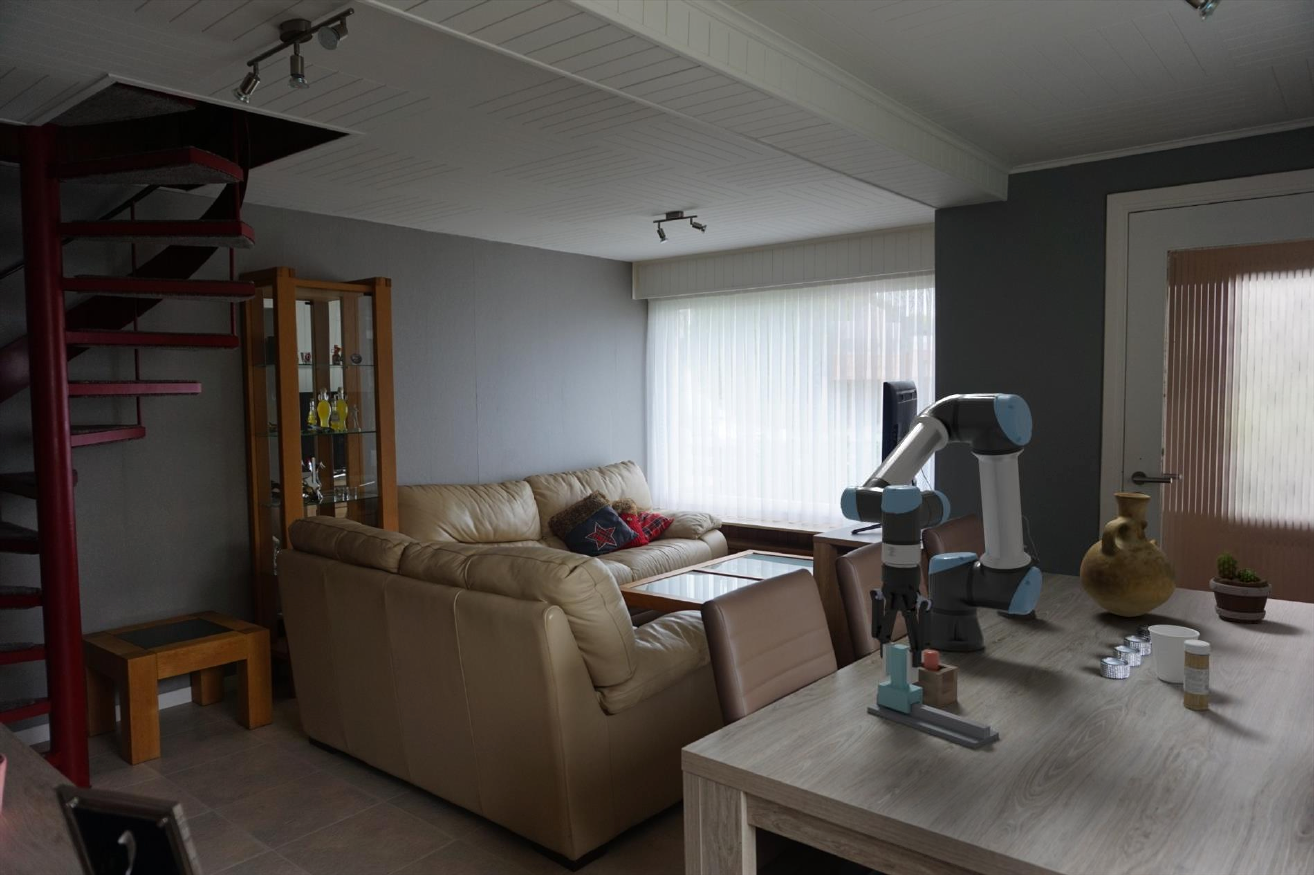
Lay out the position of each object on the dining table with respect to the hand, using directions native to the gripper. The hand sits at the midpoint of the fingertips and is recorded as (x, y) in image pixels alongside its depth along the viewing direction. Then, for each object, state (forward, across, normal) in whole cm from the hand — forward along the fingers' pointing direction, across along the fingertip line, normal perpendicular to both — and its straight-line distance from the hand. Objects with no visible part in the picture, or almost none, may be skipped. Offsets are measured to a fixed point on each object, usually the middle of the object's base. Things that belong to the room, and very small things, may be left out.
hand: (900, 678), depth 174 cm
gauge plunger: (+2, -1, +12) cm, 12 cm away
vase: (+8, -5, +113) cm, 113 cm away
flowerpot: (+8, +17, +133) cm, 134 cm away
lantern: (+8, -26, +91) cm, 95 cm away
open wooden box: (+7, -1, +12) cm, 14 cm away
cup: (+7, +26, +64) cm, 69 cm away
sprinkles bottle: (+7, +36, +49) cm, 61 cm away
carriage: (+6, 0, 0) cm, 6 cm away
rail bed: (+7, +7, 0) cm, 10 cm away
